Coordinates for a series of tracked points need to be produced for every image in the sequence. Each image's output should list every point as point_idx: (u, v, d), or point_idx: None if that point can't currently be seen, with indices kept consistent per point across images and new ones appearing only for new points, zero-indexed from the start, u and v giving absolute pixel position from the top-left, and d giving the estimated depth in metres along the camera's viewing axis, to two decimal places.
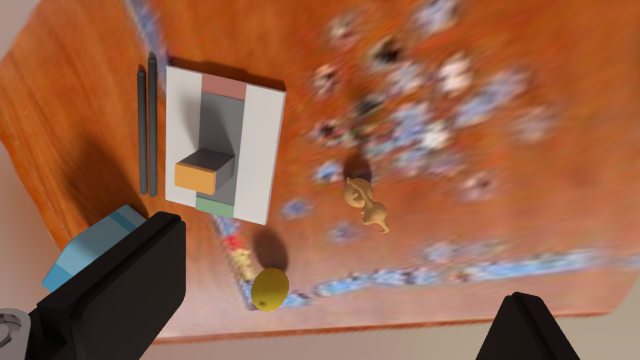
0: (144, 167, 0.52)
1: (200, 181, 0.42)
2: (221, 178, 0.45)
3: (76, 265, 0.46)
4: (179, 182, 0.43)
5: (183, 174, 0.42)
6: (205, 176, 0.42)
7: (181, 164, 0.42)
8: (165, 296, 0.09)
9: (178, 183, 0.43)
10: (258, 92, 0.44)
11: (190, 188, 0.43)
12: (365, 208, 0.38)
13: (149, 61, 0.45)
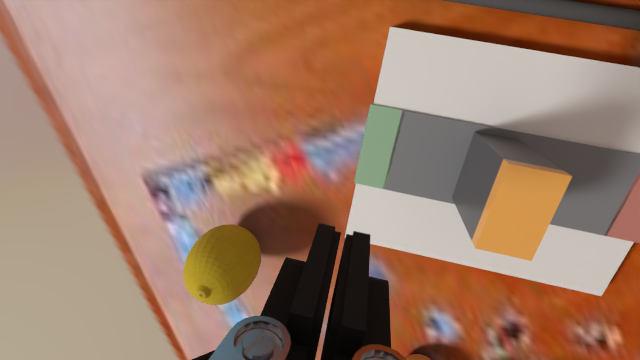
0: None
1: (514, 229, 0.18)
2: None
3: None
4: (516, 178, 0.17)
5: (538, 192, 0.17)
6: (526, 242, 0.18)
7: None
8: None
9: (514, 175, 0.17)
10: (613, 258, 0.25)
11: (496, 203, 0.18)
12: None
13: None
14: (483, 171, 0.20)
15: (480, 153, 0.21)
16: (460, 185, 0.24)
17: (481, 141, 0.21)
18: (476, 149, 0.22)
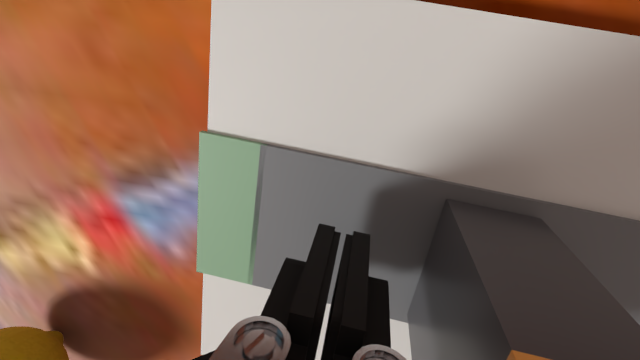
0: None
1: None
2: None
3: None
4: None
5: None
6: None
7: None
8: None
9: None
10: None
11: None
12: None
13: None
14: (459, 325, 0.08)
15: (454, 263, 0.09)
16: (419, 303, 0.12)
17: (458, 233, 0.09)
18: (448, 245, 0.10)
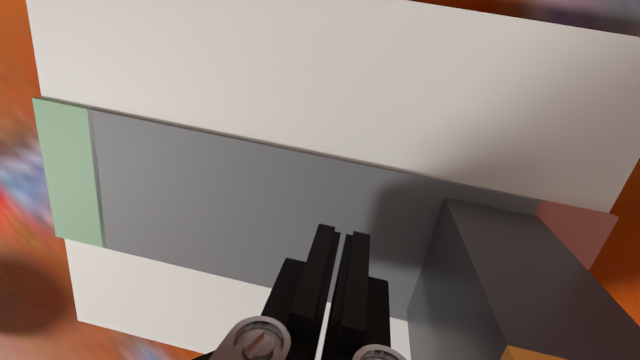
0: None
1: None
2: None
3: None
4: None
5: None
6: None
7: None
8: None
9: None
10: None
11: None
12: None
13: None
14: (456, 322, 0.08)
15: (452, 262, 0.09)
16: (418, 301, 0.12)
17: (456, 231, 0.09)
18: (446, 243, 0.10)
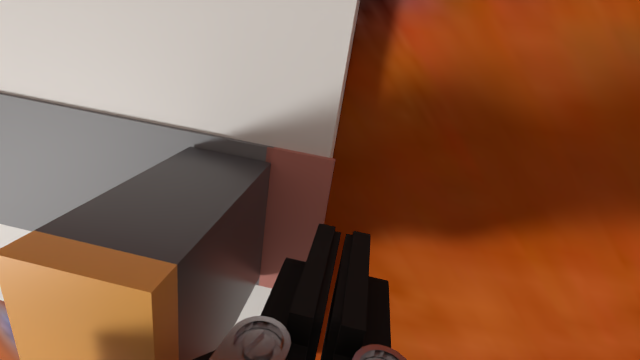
0: None
1: None
2: None
3: None
4: (29, 292, 0.06)
5: (95, 327, 0.06)
6: None
7: (161, 313, 0.06)
8: None
9: (20, 283, 0.06)
10: None
11: (23, 344, 0.07)
12: None
13: None
14: None
15: None
16: None
17: (156, 167, 0.10)
18: None
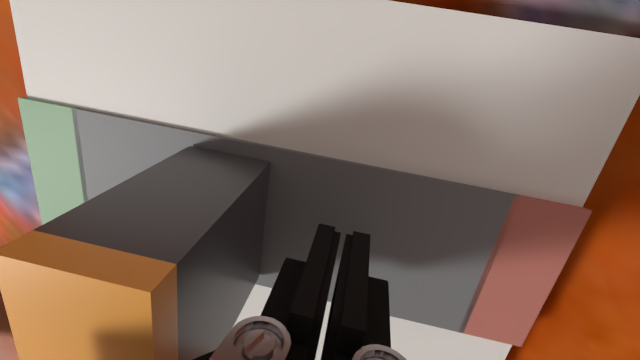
0: None
1: None
2: None
3: None
4: (28, 291, 0.06)
5: (95, 327, 0.06)
6: None
7: (161, 312, 0.06)
8: None
9: (19, 282, 0.06)
10: None
11: (22, 344, 0.07)
12: None
13: None
14: None
15: None
16: None
17: (155, 167, 0.10)
18: None
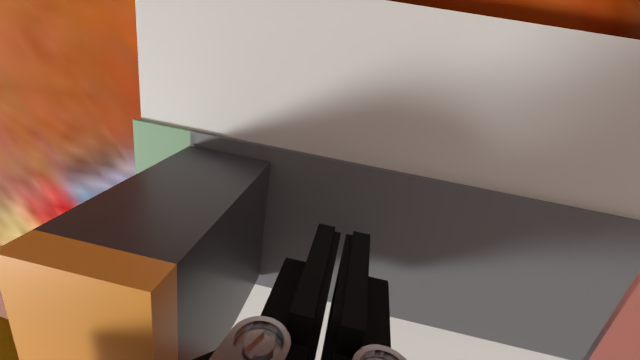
0: None
1: None
2: None
3: None
4: (28, 291, 0.06)
5: (94, 326, 0.06)
6: None
7: (161, 312, 0.06)
8: None
9: (19, 282, 0.06)
10: None
11: (22, 343, 0.07)
12: None
13: None
14: None
15: None
16: None
17: (155, 167, 0.10)
18: None
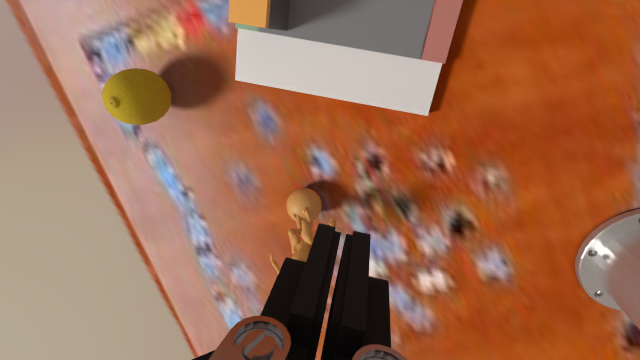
0: None
1: (248, 2, 0.26)
2: None
3: None
4: None
5: None
6: (258, 12, 0.26)
7: None
8: None
9: None
10: (430, 80, 0.33)
11: None
12: None
13: None
14: None
15: None
16: None
17: None
18: None
